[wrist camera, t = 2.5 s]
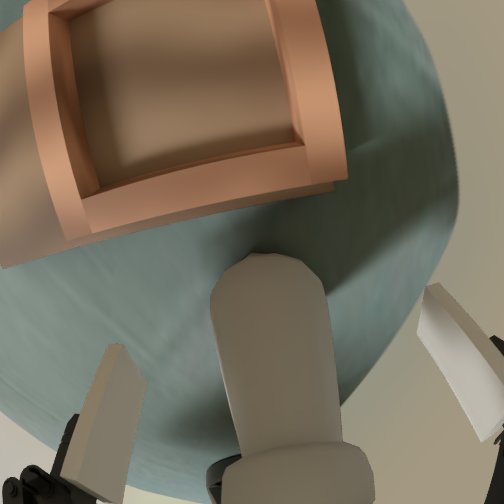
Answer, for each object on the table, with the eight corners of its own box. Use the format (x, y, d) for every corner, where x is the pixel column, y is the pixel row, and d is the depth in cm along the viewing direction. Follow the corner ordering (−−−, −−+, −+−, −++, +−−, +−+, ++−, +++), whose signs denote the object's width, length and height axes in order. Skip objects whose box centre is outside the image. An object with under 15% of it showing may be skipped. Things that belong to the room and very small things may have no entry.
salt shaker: (331, 253, 16) (455, 476, 4) (291, 332, 18) (339, 536, 6) (228, 222, 15) (223, 515, 3) (200, 311, 17) (177, 541, 5)
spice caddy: (325, 184, 14) (350, 203, 11) (14, 258, 15) (-15, 284, 12) (272, -56, 8) (281, -90, 5) (-28, 72, 9) (-62, 73, 6)
